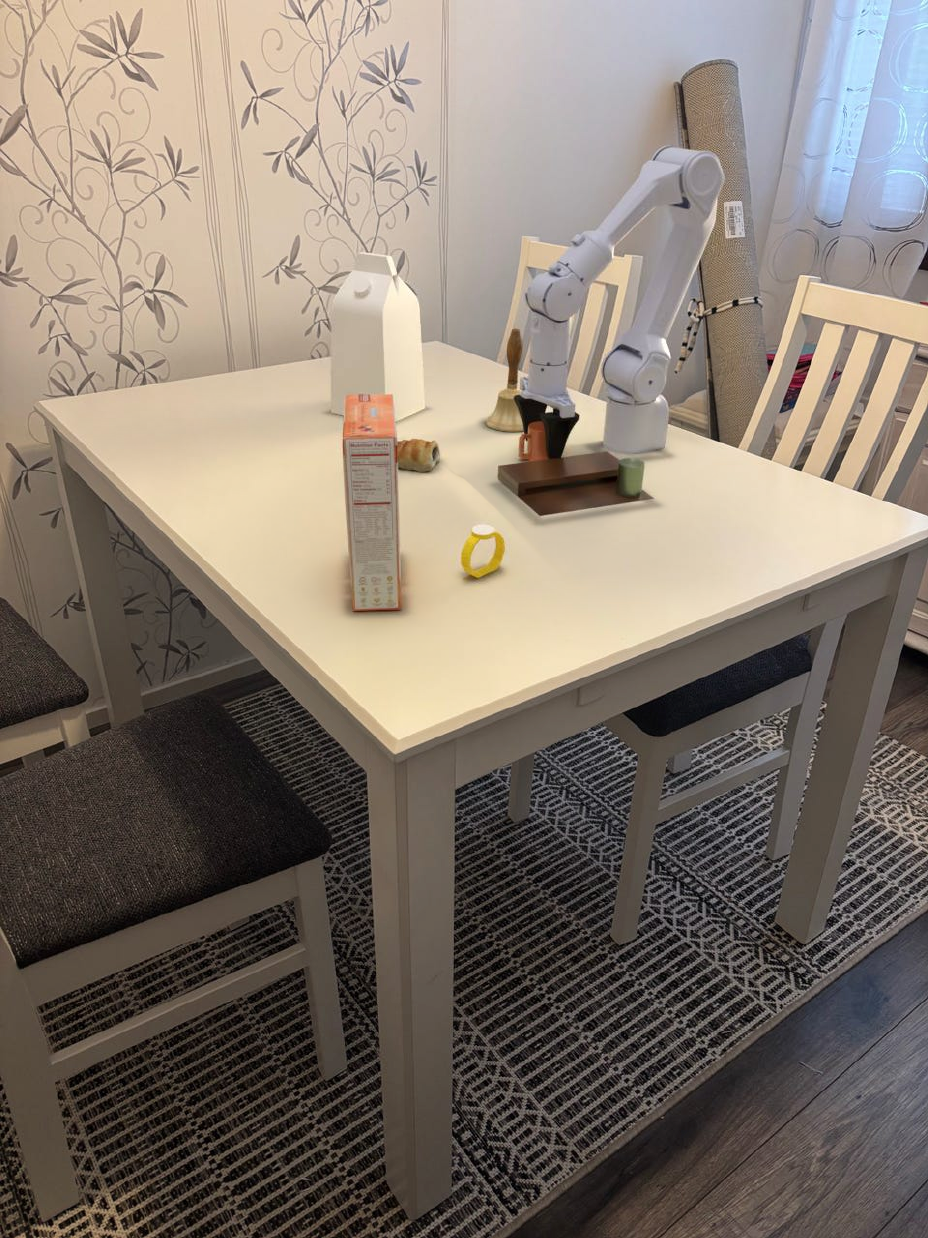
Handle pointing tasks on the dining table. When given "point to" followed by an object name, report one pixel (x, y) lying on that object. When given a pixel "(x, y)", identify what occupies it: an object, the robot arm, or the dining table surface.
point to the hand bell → (509, 391)
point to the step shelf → (566, 483)
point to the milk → (376, 337)
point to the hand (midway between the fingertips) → (543, 449)
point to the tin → (630, 477)
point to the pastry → (417, 454)
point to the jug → (534, 443)
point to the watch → (476, 535)
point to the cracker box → (372, 501)
